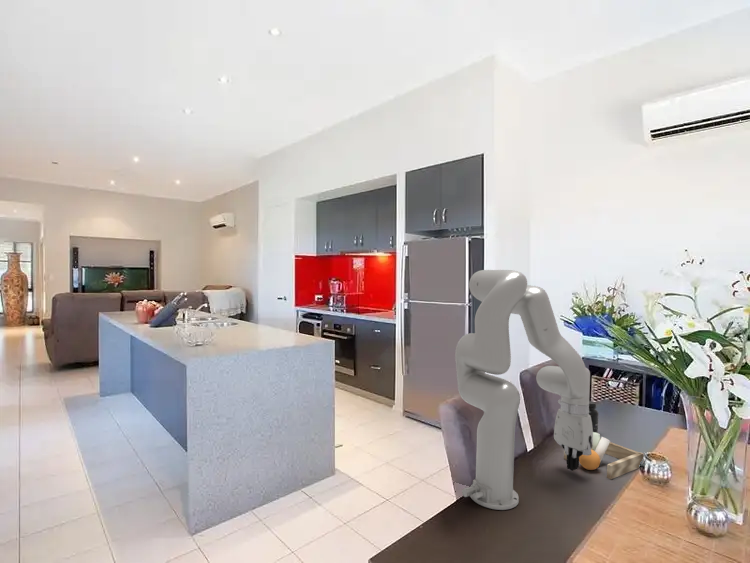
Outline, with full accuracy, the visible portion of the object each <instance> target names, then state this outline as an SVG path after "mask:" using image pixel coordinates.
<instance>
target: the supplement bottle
mask: <svg viewBox="0 0 750 563" xmlns="http://www.w3.org/2000/svg"><path fill="white" fill-rule="evenodd" d="M589 415H590V416H591V420H592V428H593V432H596V433H599V417H600V416H599V415H600V414H599V411H598V410H597V402H595V401H593V400H589Z"/></svg>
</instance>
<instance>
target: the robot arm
mask: <svg viewBox="0 0 750 563" xmlns="http://www.w3.org/2000/svg"><path fill="white" fill-rule="evenodd" d="M468 283H469V284H468V287H469V288H468V289H469V292H470V293H471V296H473V298H475V299H476V300H478V301H479V302H481V303H480V305H479V306H478V308H477V310H476V312H475V317H474V333H473V332H470V333H465V334H464V335H462V337H460V339H459V340H458V342H457V343H456V346H455V352H454V354H455V355H454V360H455V370H456V380H457V381H456V382H457V389H458V393H459V395H460V397H461V399H462V400H463V401H464V403H465V402H466V403H467V404H468V405H471V406H473V407H475V408H477V409H479V410H482V412H483V415H482V417H481V419H480V420H479V422H478V424H477V428H476V454H475V455H476V456H475V457H476V458H475V460H476V461H475V479H473V480H472V484H471V485H470V486H469V487H466V488H463V489H462V490H461V494H462V496H463V497H464V498H468V497H470V498H471V500H472V501H473V502H475V503H476V504H478V505H480V506H481V507H484V508H487V509H490V510H491V509H492V510H499V511H505V510H506V511H507V510H511V509H513V508H515V507H517V505H518V504H519V501H520V498H519V494H518V492H516V490H514V468H515V466H514V464H515V463H514V462H515V433H516V423H517V416H518V412H519V408H520V404H521V394H520V391H519V389H518V388H517V387H516V385H515V384H513V383H512V382H511V381H509V380H507V379H505V378H502V377H499V375H504V374H506V373H507V372H508V371H509V369H510V367H511V359H512V356H511V355H512V354H511V343H510V324H509V323H510V317H511V314H513V315H518V316H520V319H521V322H522V324H523V328H524V330H525V334H526V336H527V340H528V343H529V344H530V345H531V346H532V347H533V348H535V349H536V350H537V351H538V352H541V353H542V354H544V355H545V356H547V357H548V358H550V360H552V361H553V362H555V364H556V365H547V366H546V365H545V366H544V367H541V368H540V369H539V370H538V371H537V373H536V376H535V377H536V383H537V385H538V387H540V388H541V390H544V391H546V392H549V393H552V394H555V395H557V396H558V395H559V396H560V398H559V399H558V400H557V403H558V404H559V405H560V408H558V410H557V413H556V416H555V421H554V429H553V438H554V440H555V442H556V443H557V444H558V445H559V446H561V447H562V449H563V451H564V450H565V454H566V455H567V460H566V469H567V470H570V471H571V472H573V471H576V470H578V469H579V467H580V462H579V457H580V456H581V455H587V456H589V455H591V454H592V453H591V448H592V446H593V428H592V420H591V416H590V415H589V401H590V390H591V389H590V387H591V386H590V385H591V371H590V370H589V368H587V367H586V364H585V363H584V360H583V359H582V357H581V355H580V354H579V353H578V351H577V350H576V349H575V348H574V347H573V346H572V345H571V344H570V342H569V341H568V340H566V338H565V337H564V336H563V335H561V333H560V331H559V327H558V323H557V320H556V317H555V314H554V310H553V308H552V305H551V301H550V298H549V295H548V293H547V291H546V290H545V289H543V288H542V287H540V286H536V285H531V284H530V285H529V284H528V279H527V277H526V276H525V274H524V273H522V272H520V271H517V270H514V269H513V270H511V269H482V270H477V271H476V272H474V273H473V274H472V275H471V276H470V279H469V282H468ZM557 365H558V366H557ZM497 375H498V376H497Z"/></svg>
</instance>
